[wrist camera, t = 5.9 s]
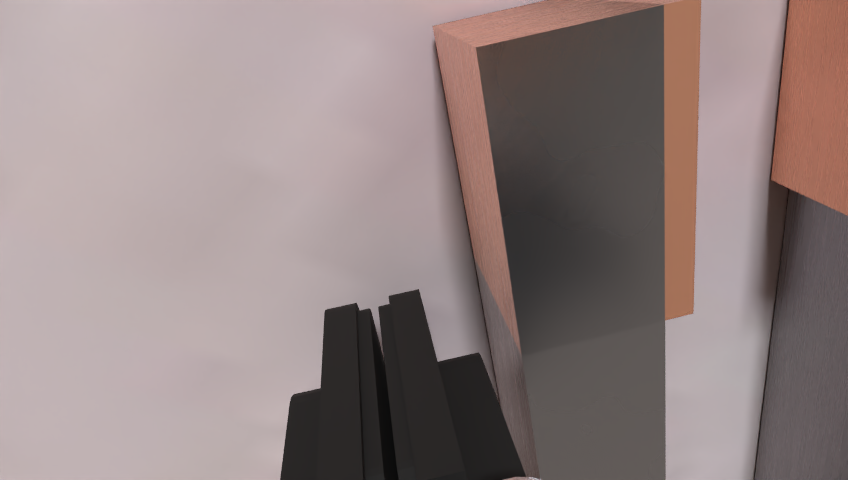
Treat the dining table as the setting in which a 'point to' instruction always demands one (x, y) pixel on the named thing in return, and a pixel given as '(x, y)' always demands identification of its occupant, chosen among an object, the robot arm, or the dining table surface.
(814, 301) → the arm
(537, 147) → the tongs free arm
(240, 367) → the dining table surface
